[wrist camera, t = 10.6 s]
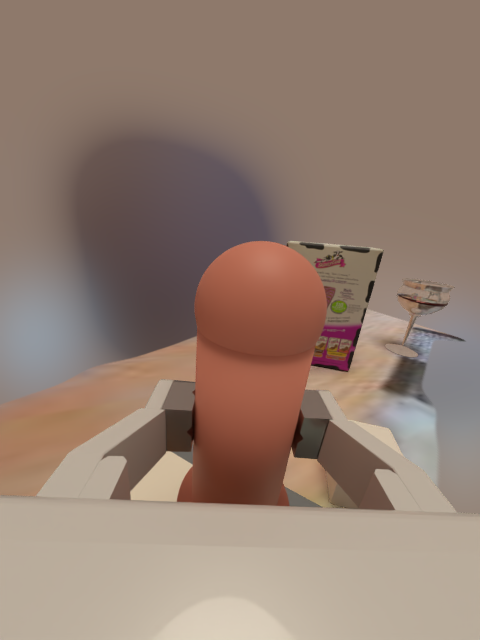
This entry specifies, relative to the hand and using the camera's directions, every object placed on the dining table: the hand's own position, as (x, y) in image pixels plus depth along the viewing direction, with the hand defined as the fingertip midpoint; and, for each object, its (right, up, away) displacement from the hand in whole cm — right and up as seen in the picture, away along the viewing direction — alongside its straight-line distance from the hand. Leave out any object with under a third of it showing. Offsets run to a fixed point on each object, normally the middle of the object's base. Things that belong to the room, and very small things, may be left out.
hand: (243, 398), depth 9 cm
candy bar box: (+10, -3, +26) cm, 28 cm away
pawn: (0, -5, +1) cm, 6 cm away
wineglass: (+28, -2, +31) cm, 42 cm away
